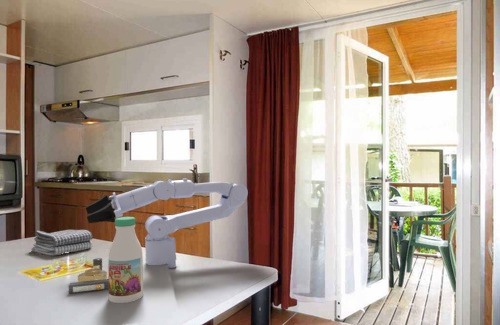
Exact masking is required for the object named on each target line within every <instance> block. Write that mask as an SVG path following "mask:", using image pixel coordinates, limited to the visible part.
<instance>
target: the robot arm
mask: <svg viewBox="0 0 500 325" xmlns="http://www.w3.org/2000/svg"><path fill="white" fill-rule="evenodd" d="M201 193H202V194H203V193H204V194H205V193H208V194H209V193H210V194H211V193H218V194H219V195H220V199H219V202H217V204H215V205H209V206H206V207H202V208H199V209H194V210H188V211H186V212H185V211H184V212H181V213H177V214H170V215H167V214H166V215H163V216H162V215H151V216H149V217H148V218H147V219H146V220H145V223H144V228H145V230H146V232H147V235H146V236H145V237H144V239H145V241H144V243H145V244H144V245H145V248H144V249H145V251H144V252H145V265H149V266H160V265H161V266H162V265H166V264H167V266H168V267H167V268H168V269H172V268H176V267H177V264H176V263H177V262H176V261H177V254H176V249H177V248H176V238H175V237H174V236H169V235H171V234H173V233H175V232H176V231H177V230H178V231H179V230H181V229H186V228H189V227H193V226H196V225H201V224H204V223H208V222H209V223H210V222H212V221H216V220H220V219H224V218H228V217H230V216H231V215H232V214H233V213H234V212H235V211H236V210H237V209H239V208H240V207H241V206H242V205H244V204H245V202H246V200H247V198H248V193H249V192H248V188H247V187H246V186H245V185H244V184H242V183H234V182H224V181H212V182H210V181H209V182H201V183H200V182H198V183H194V182H193V181H192V180H191V179H188V178H182V179H181V180H172V179H168V180H167V181H166V180H164V181H163V180H156V181H154V183H152V184H148V185H146V186H142V187H138V188H136V189H132V190H130V191H126V192H123V193H120V194H117V195H116V192H115V191H114V192H112V195H110V196H109V197H108V194H107V193H104V194H103V195H102V197H100V198H99V199H98V200H96V201H94V202H93V203H92V202H91V204H89V205H87V206H85V210H86V213H87V214H88V215H87V216H86V219H87V222H88V224H95V223H105V222H108V223H115V219H116V218H120V217H124V213H128V212H129V211H133V210H136V209H138V208H142V207H144V206H147V205H150V204H152V203H154V202H157V201H159V200H162V201H163V200H164V201H167V200H169V199H170V198H171V199H182V198H183V199H184V198H185V199H186V198H191V197H193V196H194V194H201Z"/></svg>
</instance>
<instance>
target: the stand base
mask: <svg viewBox="0 0 500 325" xmlns="http://www.w3.org/2000/svg"><path fill="white" fill-rule="evenodd" d="M107 290H108V291H109V278H107V279H102V280H93V281H83V282H78V281H76V282H75V281H74V282H70V283H69V284H68V294H69V295H70V294H71V295H72V294H73V295H74V294H80V293H81V294H82V293H89V292H98V291H107Z"/></svg>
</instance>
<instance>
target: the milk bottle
mask: <svg viewBox="0 0 500 325" xmlns="http://www.w3.org/2000/svg"><path fill="white" fill-rule="evenodd" d="M136 224H137V223H136V217H134V216H121V217H118V218H116V217H115V222H114V225H115V227H114V228H115V234H114V238H113V241H112V243H111V246H110V248H109V250H108V251H109V252H108V264H107V265H108V267H107V268H108V272H107V273H108V279H109V289H108V301H109V302H111V303H114V304H115V303H116V304H125V303H130V302H134V301H137V300H139V299H141V298H143V296H144V260H143V258H144V257H143V247H142V246H141V243H140V241H139V239H138V236H137V234H136V230H135V227H136Z"/></svg>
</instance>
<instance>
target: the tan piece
mask: <svg viewBox="0 0 500 325" xmlns="http://www.w3.org/2000/svg"><path fill="white" fill-rule="evenodd" d="M107 273H108V272H107V271H106V270H103V258H100V257H98V258H93V259H92V268H90V269H86V270H85V271H84V272H81V273H79V274H78V275H77V282H83V281H93V280H102V279H108V274H107Z"/></svg>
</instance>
